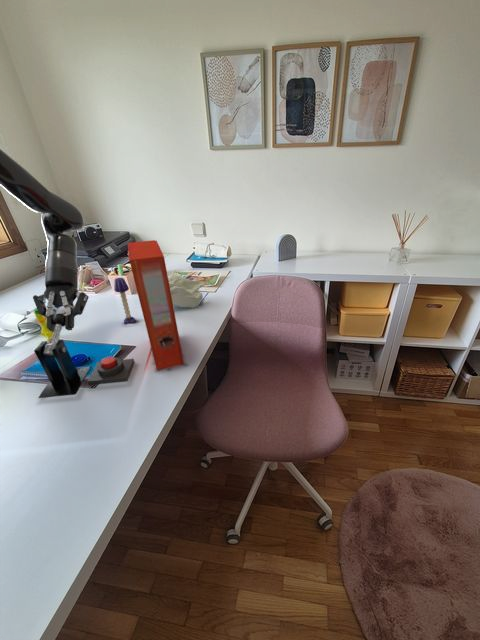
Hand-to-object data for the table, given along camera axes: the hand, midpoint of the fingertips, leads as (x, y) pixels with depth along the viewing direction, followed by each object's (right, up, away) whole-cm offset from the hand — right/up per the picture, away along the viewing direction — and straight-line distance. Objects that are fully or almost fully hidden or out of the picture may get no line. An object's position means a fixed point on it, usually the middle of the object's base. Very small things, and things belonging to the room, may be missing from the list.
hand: (60, 330), depth 81 cm
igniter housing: (+12, -13, +4) cm, 18 cm away
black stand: (+1, -15, +1) cm, 15 cm away
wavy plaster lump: (+22, +13, +42) cm, 49 cm away
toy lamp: (+5, +5, +31) cm, 32 cm away
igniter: (+12, -10, +2) cm, 16 cm away
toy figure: (-17, -2, +21) cm, 27 cm away
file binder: (+25, -6, +14) cm, 29 cm away
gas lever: (0, -2, -1) cm, 2 cm away
